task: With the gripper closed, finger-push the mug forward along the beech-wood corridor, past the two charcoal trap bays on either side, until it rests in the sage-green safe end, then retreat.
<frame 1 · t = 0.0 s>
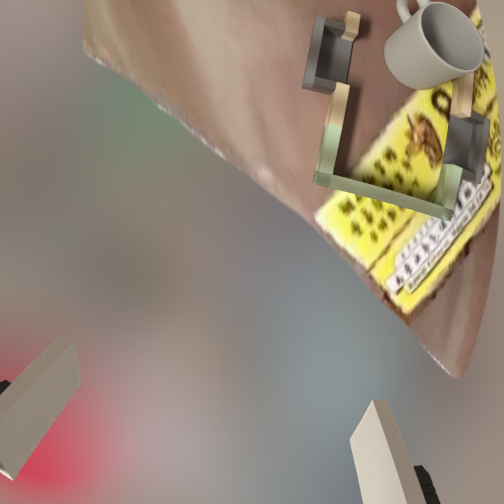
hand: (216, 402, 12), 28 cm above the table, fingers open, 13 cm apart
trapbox: (398, 116, 34), on the table
mug: (406, 49, 31), on the table
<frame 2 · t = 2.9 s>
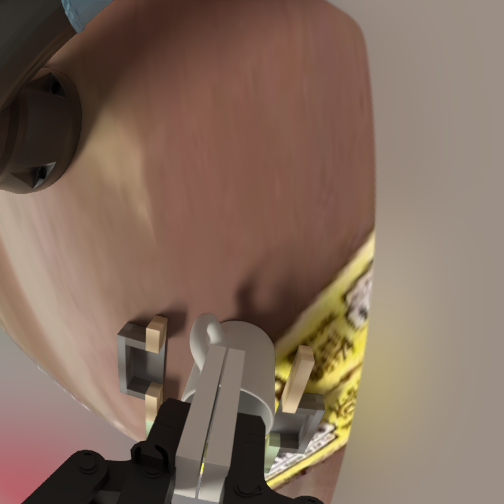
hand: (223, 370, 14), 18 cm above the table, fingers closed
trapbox: (219, 401, 38), on the table
mug: (231, 338, 35), on the table
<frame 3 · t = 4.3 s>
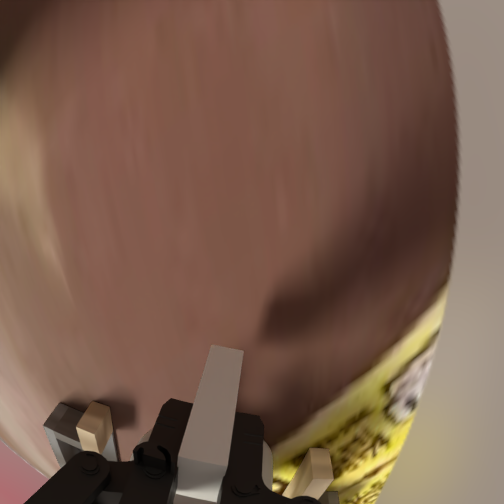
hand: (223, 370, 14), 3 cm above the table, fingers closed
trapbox: (197, 496, 23), on the table
mug: (207, 439, 20), on the table
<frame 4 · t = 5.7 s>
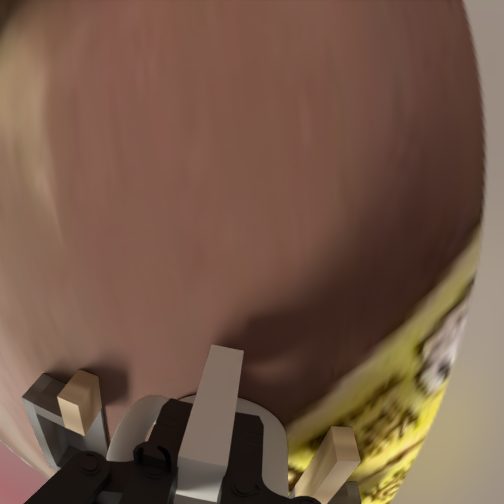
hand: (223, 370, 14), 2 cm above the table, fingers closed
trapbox: (196, 489, 21), on the table
mug: (210, 419, 18), on the table, touching gripper
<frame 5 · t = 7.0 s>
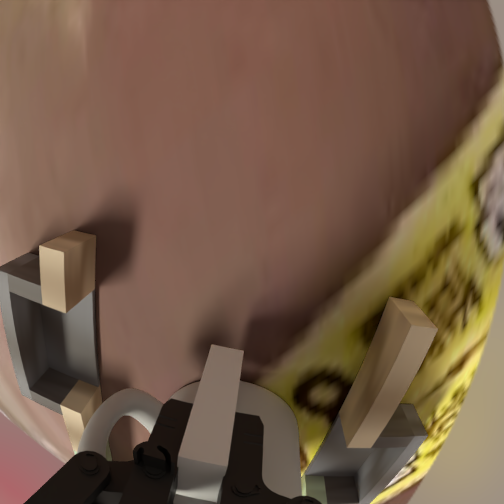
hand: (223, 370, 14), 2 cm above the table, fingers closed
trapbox: (210, 426, 18), on the table
mug: (211, 409, 18), on the table, touching gripper
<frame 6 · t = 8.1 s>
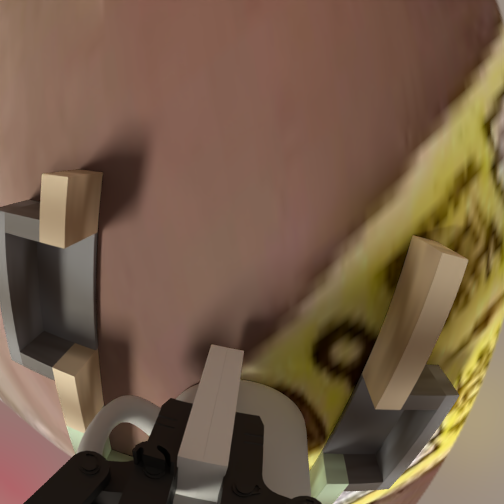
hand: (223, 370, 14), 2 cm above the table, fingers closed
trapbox: (219, 393, 17), on the table
mug: (215, 411, 18), on the table, touching gripper
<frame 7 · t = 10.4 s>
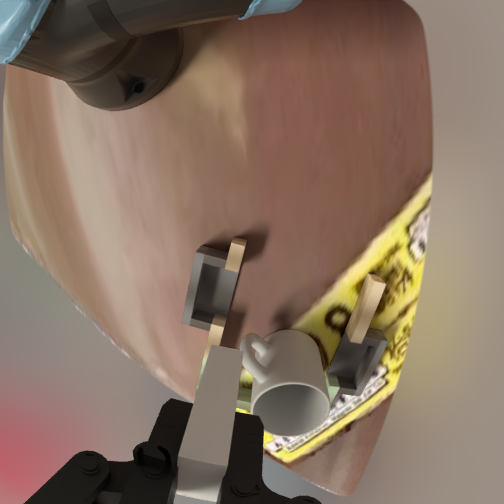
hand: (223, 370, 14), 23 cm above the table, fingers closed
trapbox: (282, 337, 40), on the table
mug: (278, 347, 40), on the table
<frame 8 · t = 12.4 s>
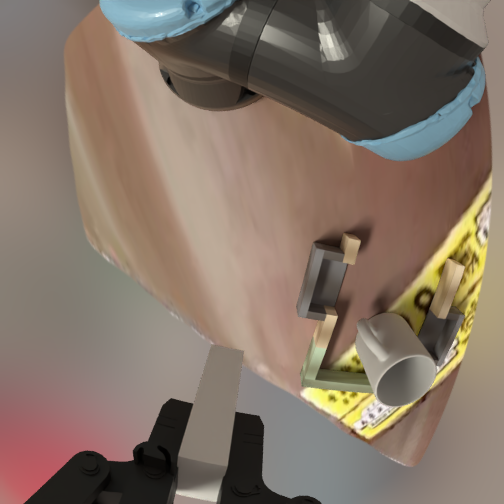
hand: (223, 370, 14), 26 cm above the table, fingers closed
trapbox: (380, 320, 42), on the table
mug: (375, 330, 43), on the table
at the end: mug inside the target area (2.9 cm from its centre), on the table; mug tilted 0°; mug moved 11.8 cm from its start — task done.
